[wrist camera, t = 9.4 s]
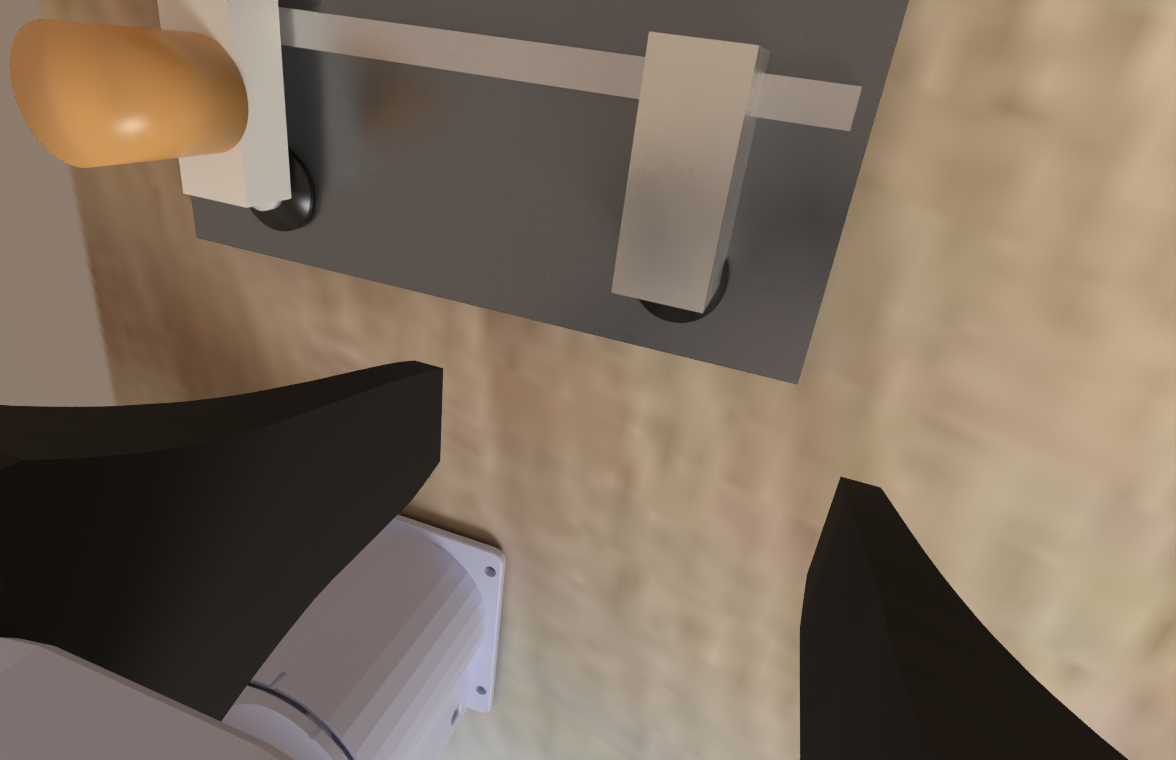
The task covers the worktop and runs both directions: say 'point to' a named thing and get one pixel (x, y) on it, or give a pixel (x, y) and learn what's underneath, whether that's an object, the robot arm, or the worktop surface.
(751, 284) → the hole plate
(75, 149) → the block with orange knob
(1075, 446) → the worktop surface
